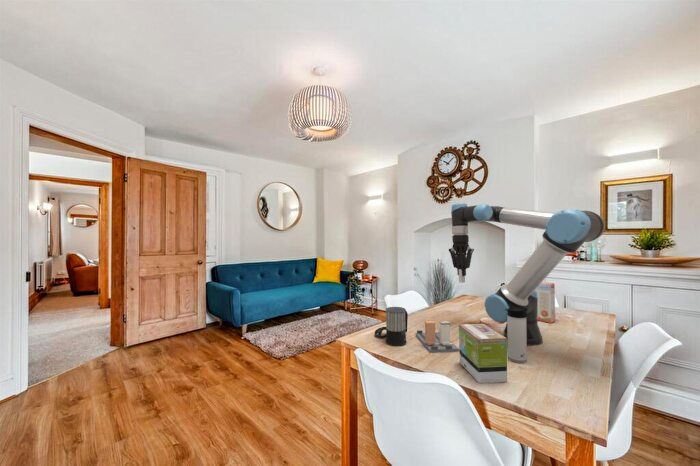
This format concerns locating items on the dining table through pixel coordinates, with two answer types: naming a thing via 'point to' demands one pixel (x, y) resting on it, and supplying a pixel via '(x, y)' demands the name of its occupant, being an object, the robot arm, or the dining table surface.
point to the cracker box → (546, 302)
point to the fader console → (434, 339)
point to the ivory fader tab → (444, 332)
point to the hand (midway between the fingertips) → (462, 282)
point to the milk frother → (394, 326)
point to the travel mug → (517, 334)
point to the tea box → (483, 353)
